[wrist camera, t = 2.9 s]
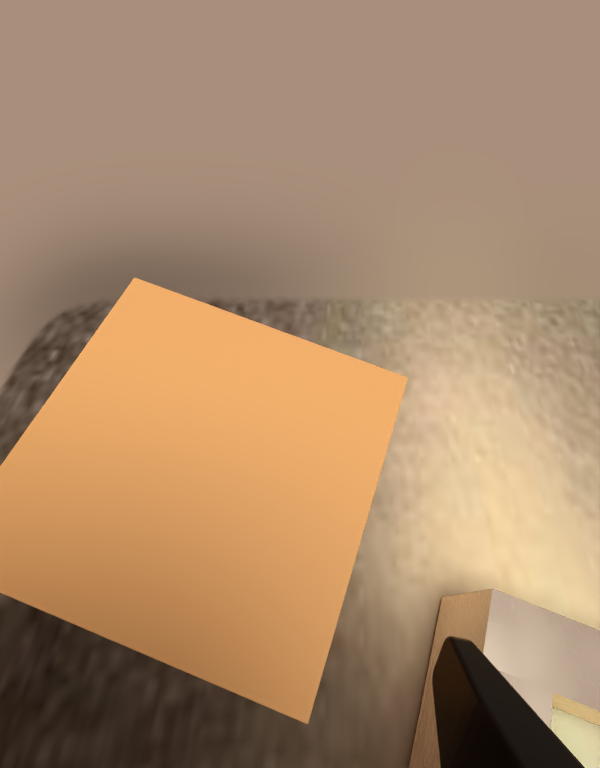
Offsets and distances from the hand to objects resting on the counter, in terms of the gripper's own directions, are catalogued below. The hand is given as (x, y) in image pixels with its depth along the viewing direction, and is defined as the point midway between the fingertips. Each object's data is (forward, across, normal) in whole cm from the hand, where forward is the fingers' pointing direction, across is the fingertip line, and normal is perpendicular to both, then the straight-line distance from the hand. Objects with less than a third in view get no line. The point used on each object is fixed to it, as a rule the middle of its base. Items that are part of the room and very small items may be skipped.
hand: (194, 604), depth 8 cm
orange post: (+7, 0, +5) cm, 9 cm away
